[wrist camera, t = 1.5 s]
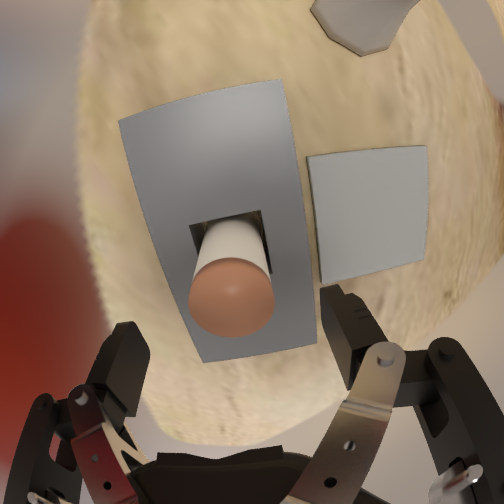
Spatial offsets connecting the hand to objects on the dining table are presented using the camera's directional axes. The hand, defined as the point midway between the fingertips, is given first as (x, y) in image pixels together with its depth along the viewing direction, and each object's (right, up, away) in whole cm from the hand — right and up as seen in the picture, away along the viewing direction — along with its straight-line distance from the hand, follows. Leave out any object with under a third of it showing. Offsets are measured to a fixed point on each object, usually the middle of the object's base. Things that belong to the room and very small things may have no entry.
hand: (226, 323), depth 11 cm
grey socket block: (0, +5, +10) cm, 12 cm away
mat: (+12, +6, +10) cm, 17 cm away
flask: (+9, +22, +3) cm, 24 cm away
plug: (0, +5, +10) cm, 12 cm away
